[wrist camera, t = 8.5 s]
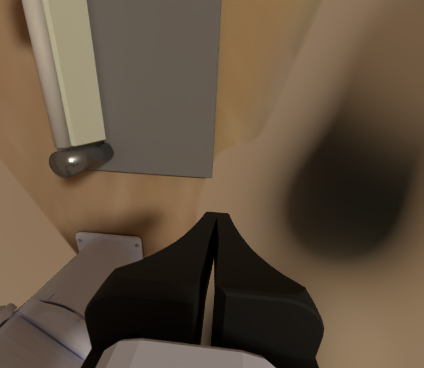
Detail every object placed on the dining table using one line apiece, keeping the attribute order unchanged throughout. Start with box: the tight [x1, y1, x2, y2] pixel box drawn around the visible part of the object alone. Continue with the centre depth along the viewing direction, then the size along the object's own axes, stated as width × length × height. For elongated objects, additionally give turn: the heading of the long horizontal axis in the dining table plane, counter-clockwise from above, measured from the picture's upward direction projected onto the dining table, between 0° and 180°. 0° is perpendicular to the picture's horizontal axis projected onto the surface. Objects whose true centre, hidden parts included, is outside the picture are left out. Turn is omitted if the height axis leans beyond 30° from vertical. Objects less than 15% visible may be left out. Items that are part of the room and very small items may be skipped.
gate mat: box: [57, 0, 221, 178], centre depth 18 cm, size 18×16×1 cm
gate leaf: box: [22, 0, 106, 148], centre depth 15 cm, size 12×1×5 cm, turn 178°
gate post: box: [49, 142, 114, 178], centre depth 18 cm, size 2×2×6 cm
